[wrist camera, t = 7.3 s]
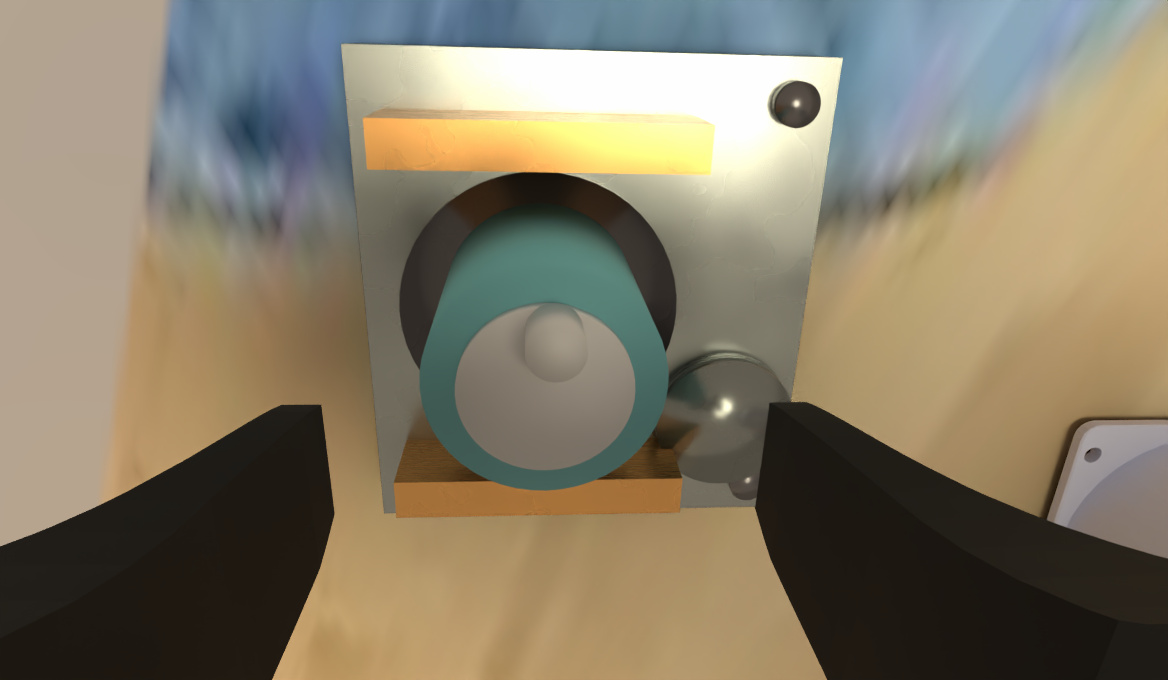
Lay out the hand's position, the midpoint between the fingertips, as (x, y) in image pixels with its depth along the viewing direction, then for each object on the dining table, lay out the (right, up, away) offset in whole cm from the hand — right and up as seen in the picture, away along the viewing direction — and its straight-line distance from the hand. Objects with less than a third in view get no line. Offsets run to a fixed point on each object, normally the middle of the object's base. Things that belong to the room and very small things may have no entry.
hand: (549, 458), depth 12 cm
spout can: (0, +3, +6) cm, 7 cm away
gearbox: (+1, +3, +8) cm, 8 cm away
